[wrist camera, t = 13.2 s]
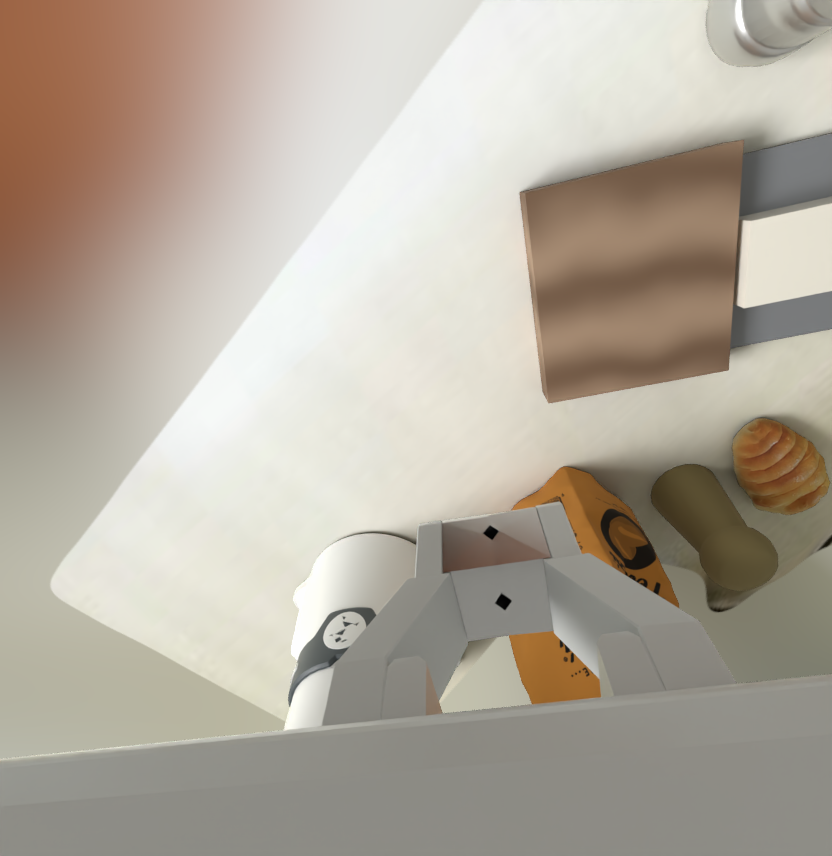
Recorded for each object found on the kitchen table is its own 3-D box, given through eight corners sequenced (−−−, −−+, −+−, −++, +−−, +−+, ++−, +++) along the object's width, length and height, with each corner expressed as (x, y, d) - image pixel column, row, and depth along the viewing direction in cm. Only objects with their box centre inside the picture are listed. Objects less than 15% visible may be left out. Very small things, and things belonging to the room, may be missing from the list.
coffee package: (640, 506, 47) (785, 736, 27) (547, 578, 52) (615, 819, 32) (568, 449, 44) (673, 658, 25) (478, 530, 49) (506, 761, 30)
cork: (720, 459, 44) (800, 538, 35) (714, 512, 47) (787, 599, 37) (651, 468, 45) (711, 548, 35) (649, 520, 48) (705, 607, 38)
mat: (900, 312, 38) (907, 314, 37) (719, 347, 40) (723, 349, 39) (946, 105, 32) (955, 103, 31) (729, 157, 34) (734, 156, 33)
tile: (852, 275, 36) (880, 281, 34) (725, 300, 37) (744, 308, 35) (867, 188, 34) (898, 188, 31) (730, 218, 35) (750, 221, 33)
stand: (712, 359, 40) (728, 370, 38) (542, 391, 42) (548, 403, 40) (723, 142, 33) (743, 139, 31) (519, 192, 35) (525, 193, 33)
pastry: (705, 443, 44) (728, 464, 40) (777, 397, 42) (808, 416, 38) (752, 506, 47) (778, 531, 43) (822, 467, 45) (855, 490, 41)
